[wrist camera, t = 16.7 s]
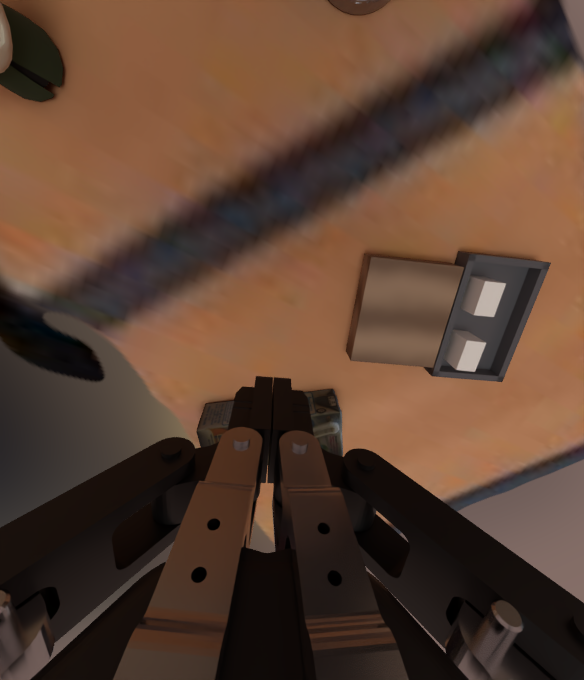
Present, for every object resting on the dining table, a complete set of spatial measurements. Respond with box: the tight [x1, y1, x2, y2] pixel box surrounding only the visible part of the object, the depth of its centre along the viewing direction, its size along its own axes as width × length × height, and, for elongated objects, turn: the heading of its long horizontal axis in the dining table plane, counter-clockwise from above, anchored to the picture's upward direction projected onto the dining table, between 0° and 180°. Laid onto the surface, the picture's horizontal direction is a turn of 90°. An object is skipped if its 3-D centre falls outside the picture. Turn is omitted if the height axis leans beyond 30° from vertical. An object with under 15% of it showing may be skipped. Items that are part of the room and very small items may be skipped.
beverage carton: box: [197, 389, 343, 465], centre depth 43 cm, size 8×19×7 cm, turn 96°
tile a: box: [460, 275, 506, 317], centre depth 38 cm, size 4×4×2 cm
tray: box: [424, 251, 551, 382], centre depth 40 cm, size 16×10×2 cm, turn 174°
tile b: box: [443, 330, 486, 372], centre depth 40 cm, size 4×4×2 cm
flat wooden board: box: [346, 254, 464, 368], centre depth 39 cm, size 13×11×3 cm
